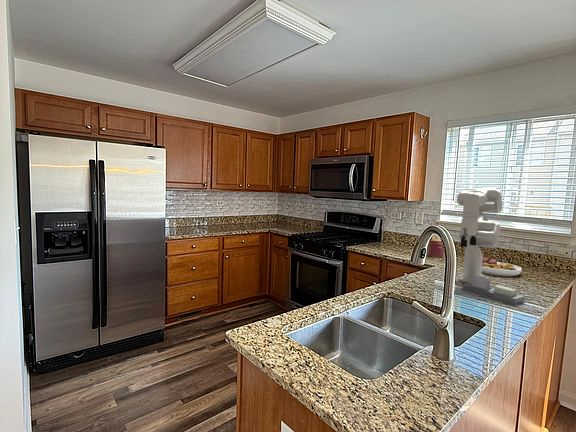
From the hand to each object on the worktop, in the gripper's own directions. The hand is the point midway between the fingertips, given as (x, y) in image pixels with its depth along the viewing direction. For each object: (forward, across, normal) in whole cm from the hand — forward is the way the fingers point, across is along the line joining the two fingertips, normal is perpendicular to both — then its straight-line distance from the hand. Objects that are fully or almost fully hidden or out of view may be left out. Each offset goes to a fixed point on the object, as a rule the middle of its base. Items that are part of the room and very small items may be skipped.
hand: (468, 245), depth 175 cm
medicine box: (+25, 0, +8) cm, 26 cm away
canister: (+26, -74, -63) cm, 101 cm away
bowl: (+26, -62, -11) cm, 68 cm away
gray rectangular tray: (+24, 0, +14) cm, 28 cm away
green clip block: (+24, 0, +20) cm, 31 cm away
